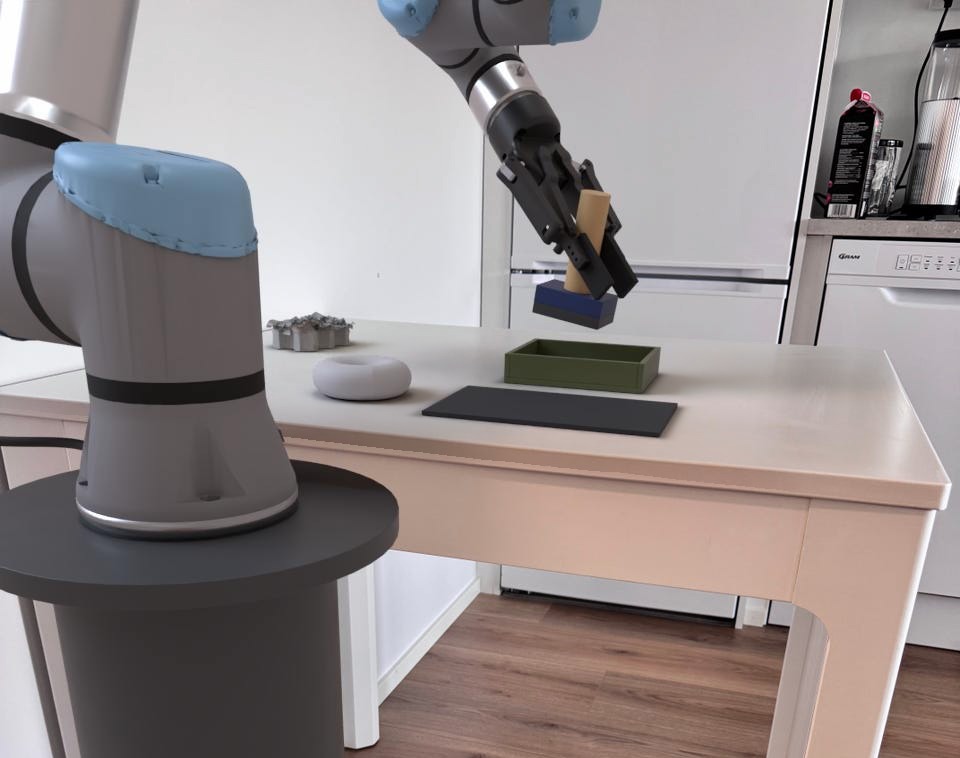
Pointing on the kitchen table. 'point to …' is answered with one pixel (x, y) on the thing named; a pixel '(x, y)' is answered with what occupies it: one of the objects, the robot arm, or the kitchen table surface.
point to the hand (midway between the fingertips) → (616, 290)
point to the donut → (361, 377)
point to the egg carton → (310, 332)
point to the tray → (583, 365)
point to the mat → (556, 410)
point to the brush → (573, 295)
